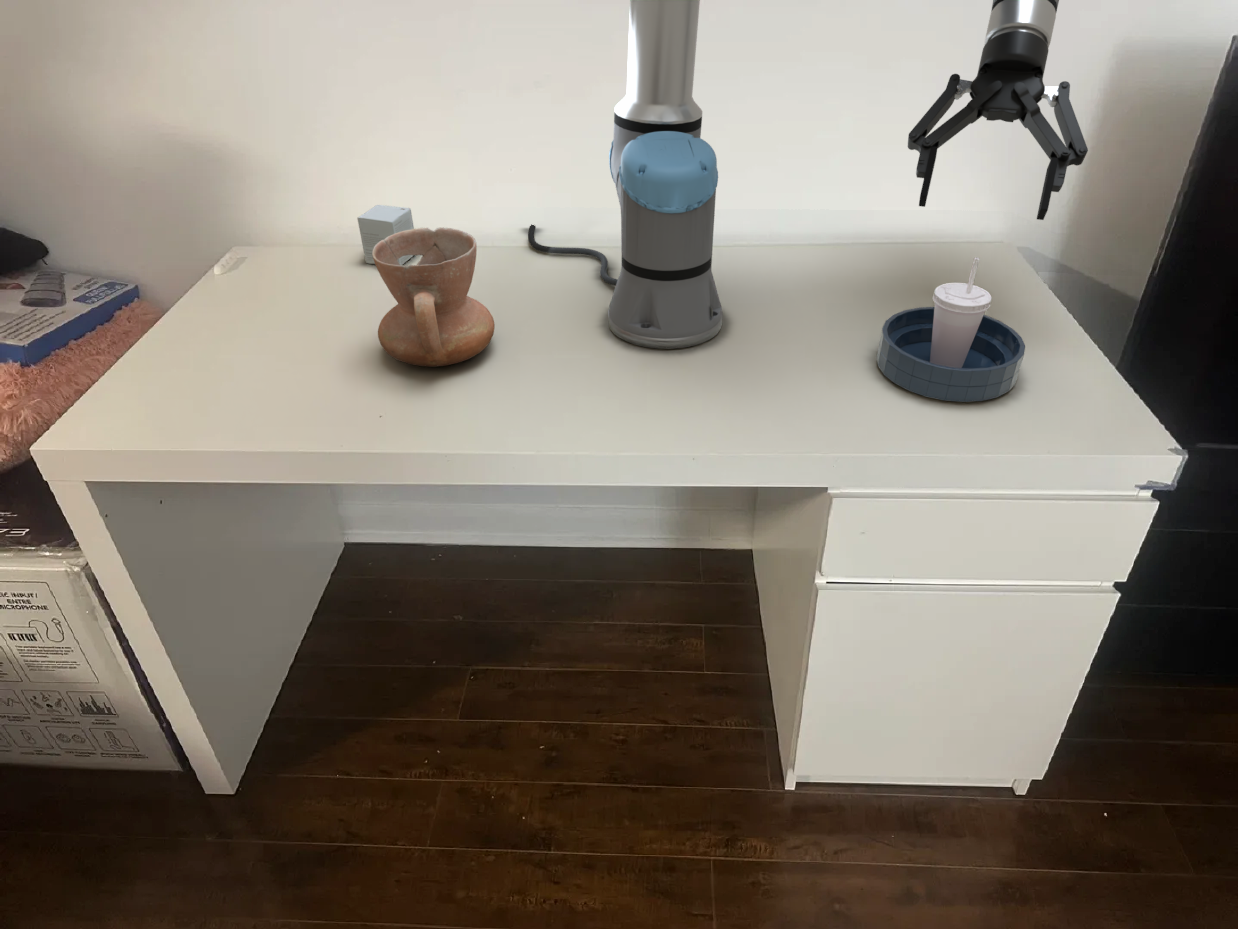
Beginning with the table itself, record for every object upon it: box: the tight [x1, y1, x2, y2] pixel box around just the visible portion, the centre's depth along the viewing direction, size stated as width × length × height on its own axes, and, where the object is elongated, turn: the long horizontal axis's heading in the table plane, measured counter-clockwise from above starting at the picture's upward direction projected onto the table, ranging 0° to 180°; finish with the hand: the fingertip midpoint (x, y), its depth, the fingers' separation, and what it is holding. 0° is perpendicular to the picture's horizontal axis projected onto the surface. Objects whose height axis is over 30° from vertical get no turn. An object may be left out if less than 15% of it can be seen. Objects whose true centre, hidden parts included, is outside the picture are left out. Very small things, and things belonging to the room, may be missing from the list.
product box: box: [357, 204, 415, 266], centre depth 134 cm, size 6×6×7 cm
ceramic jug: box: [372, 226, 495, 368], centre depth 107 cm, size 18×14×14 cm
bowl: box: [876, 306, 1026, 403], centre depth 105 cm, size 16×16×4 cm
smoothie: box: [930, 257, 993, 368], centre depth 102 cm, size 6×6×14 cm
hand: (981, 208), depth 105 cm, fingers open, 13 cm apart
